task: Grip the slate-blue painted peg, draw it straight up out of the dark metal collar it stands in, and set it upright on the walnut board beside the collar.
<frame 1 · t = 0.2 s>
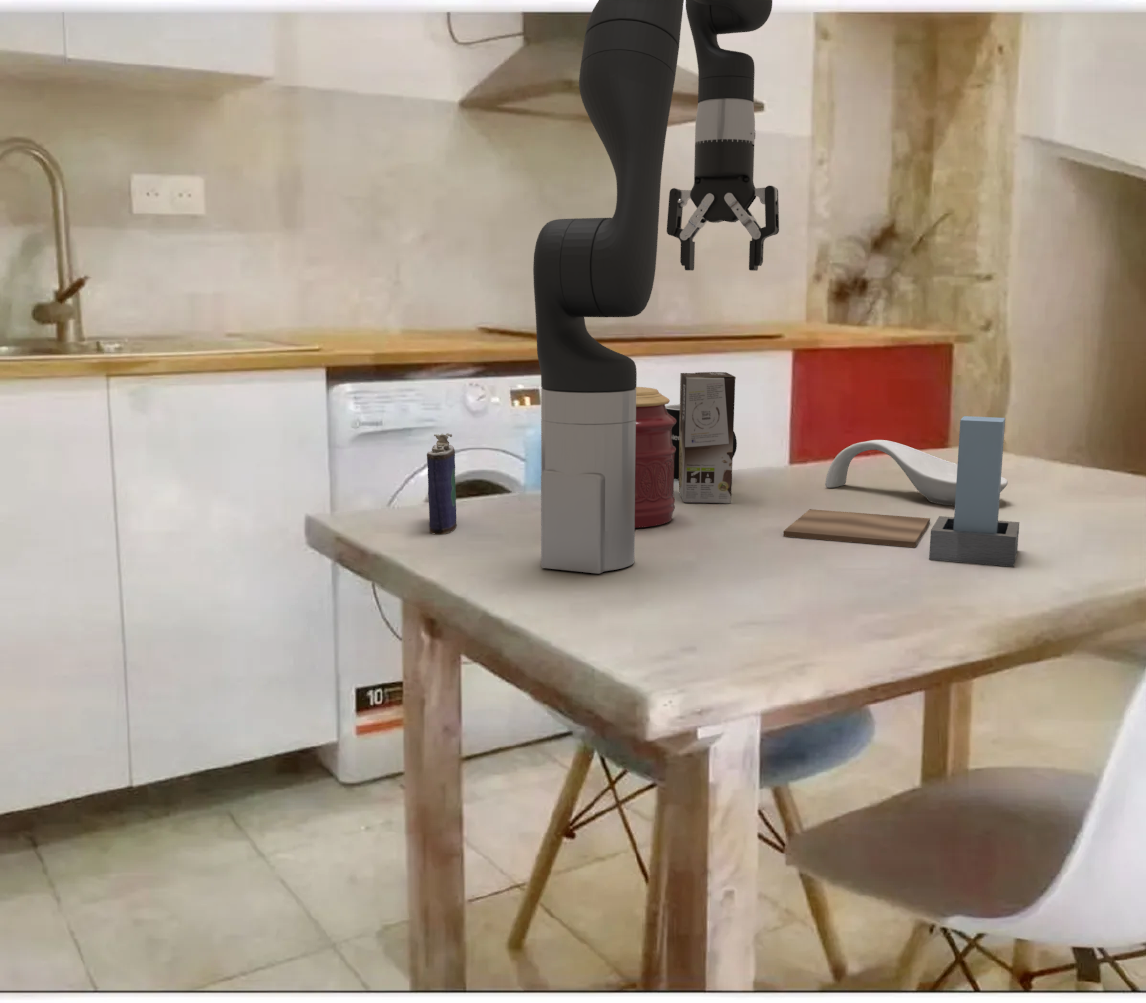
hand: (721, 270, 150), 29 cm above the table, tool pointing down, fingers open, 8 cm apart
canister: (619, 520, 137), on the table
flask: (443, 527, 133), on the table
spoon rest: (912, 499, 153), on the table
peg: (973, 555, 119), resting in collar
board: (858, 529, 131), on the table
collar: (973, 554, 119), on the table
mug: (701, 479, 167), on the table
coffee box: (704, 498, 151), on the table
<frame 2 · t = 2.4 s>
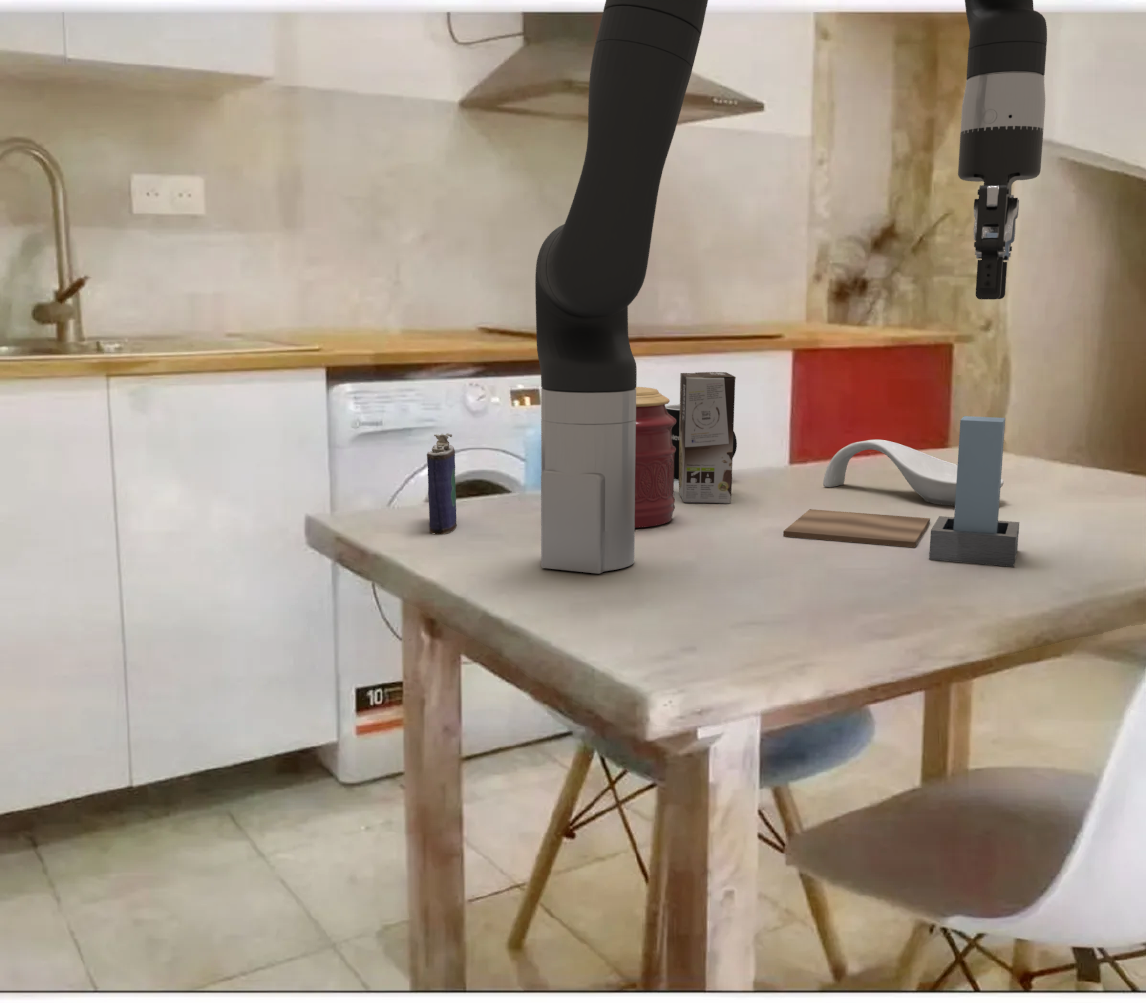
hand: (990, 299, 114), 26 cm above the table, tool pointing down, fingers open, 8 cm apart
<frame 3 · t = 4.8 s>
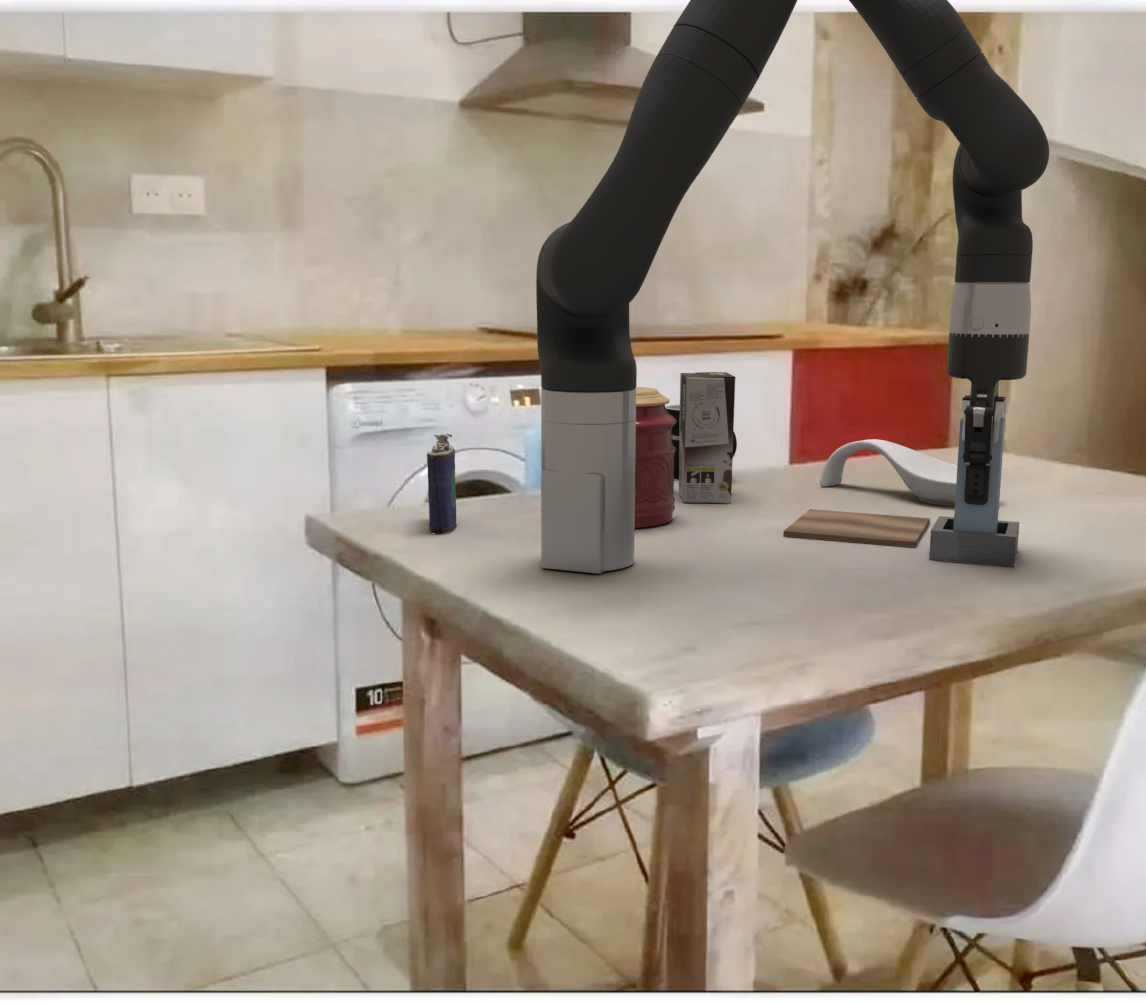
hand: (977, 499, 118), 6 cm above the table, tool pointing down, fingers closed on peg, 4 cm apart
peg: (973, 554, 119), resting in collar, touching gripper
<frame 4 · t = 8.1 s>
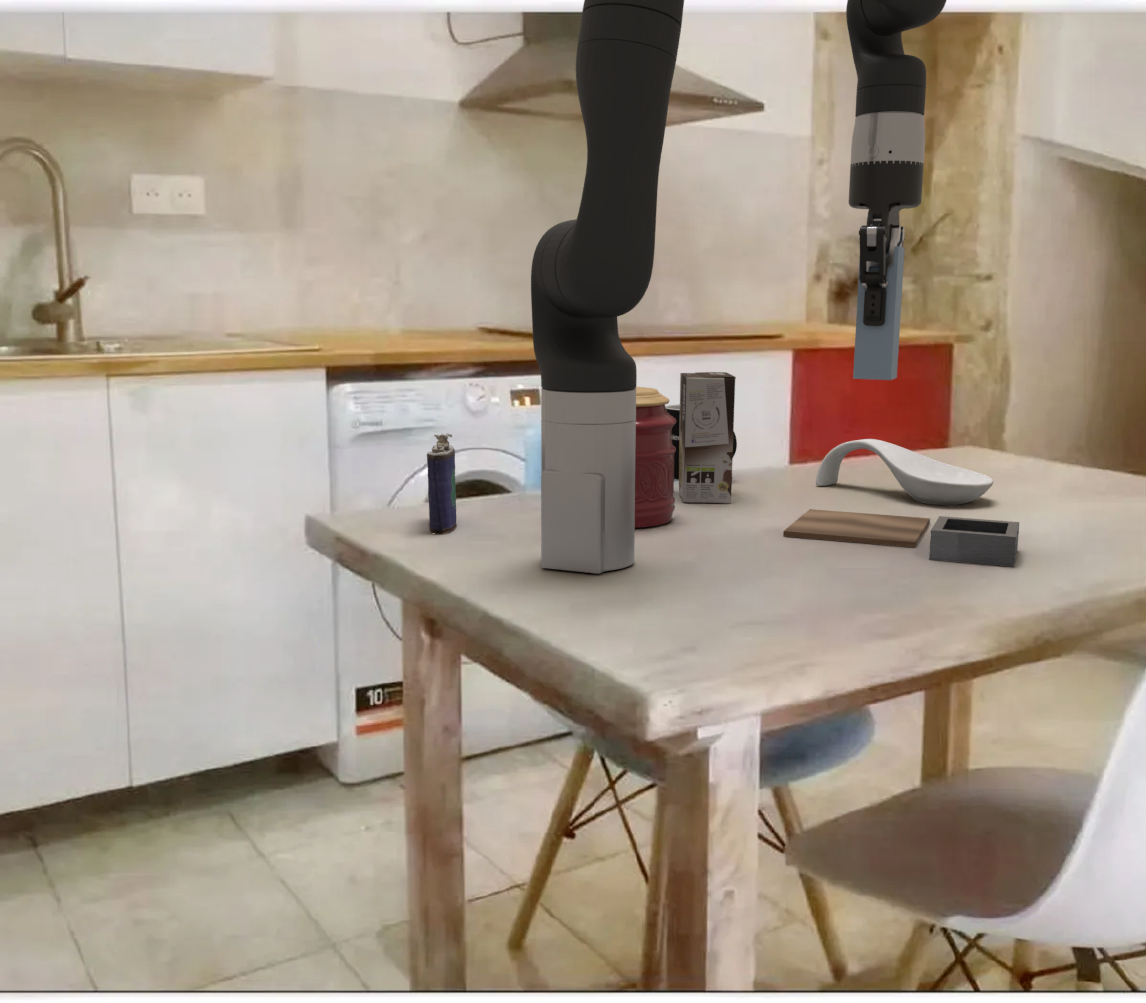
hand: (877, 324, 126), 23 cm above the table, tool pointing down, fingers closed on peg, 4 cm apart
peg: (875, 378, 127), point 17 cm above the table, touching gripper
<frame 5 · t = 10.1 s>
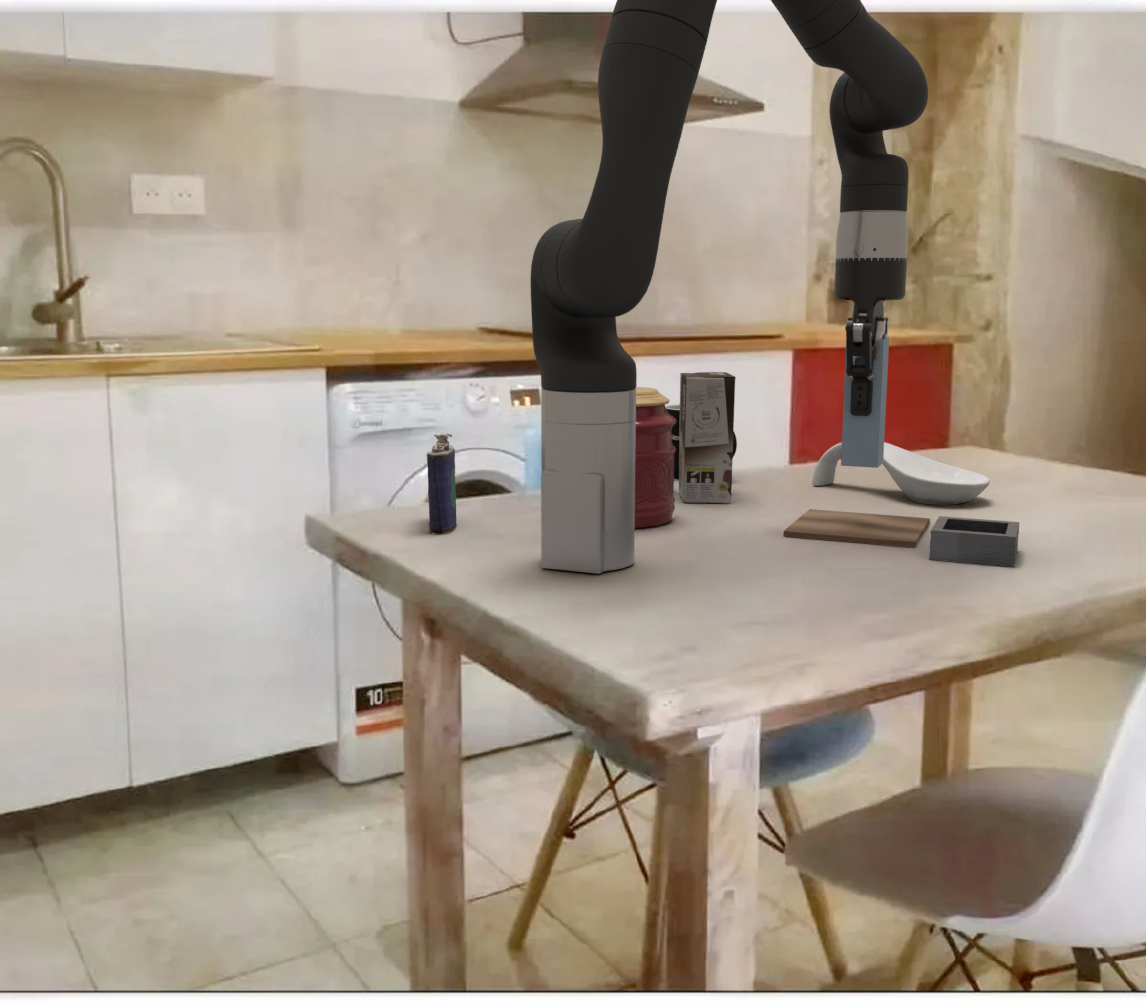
hand: (864, 412, 129), 13 cm above the table, tool pointing down, fingers closed on peg, 4 cm apart
peg: (862, 464, 130), point 7 cm above the table, touching gripper
when the fingers open (7 cm above the table, at t = 11.6 s): peg drops 1 cm, resting on board.
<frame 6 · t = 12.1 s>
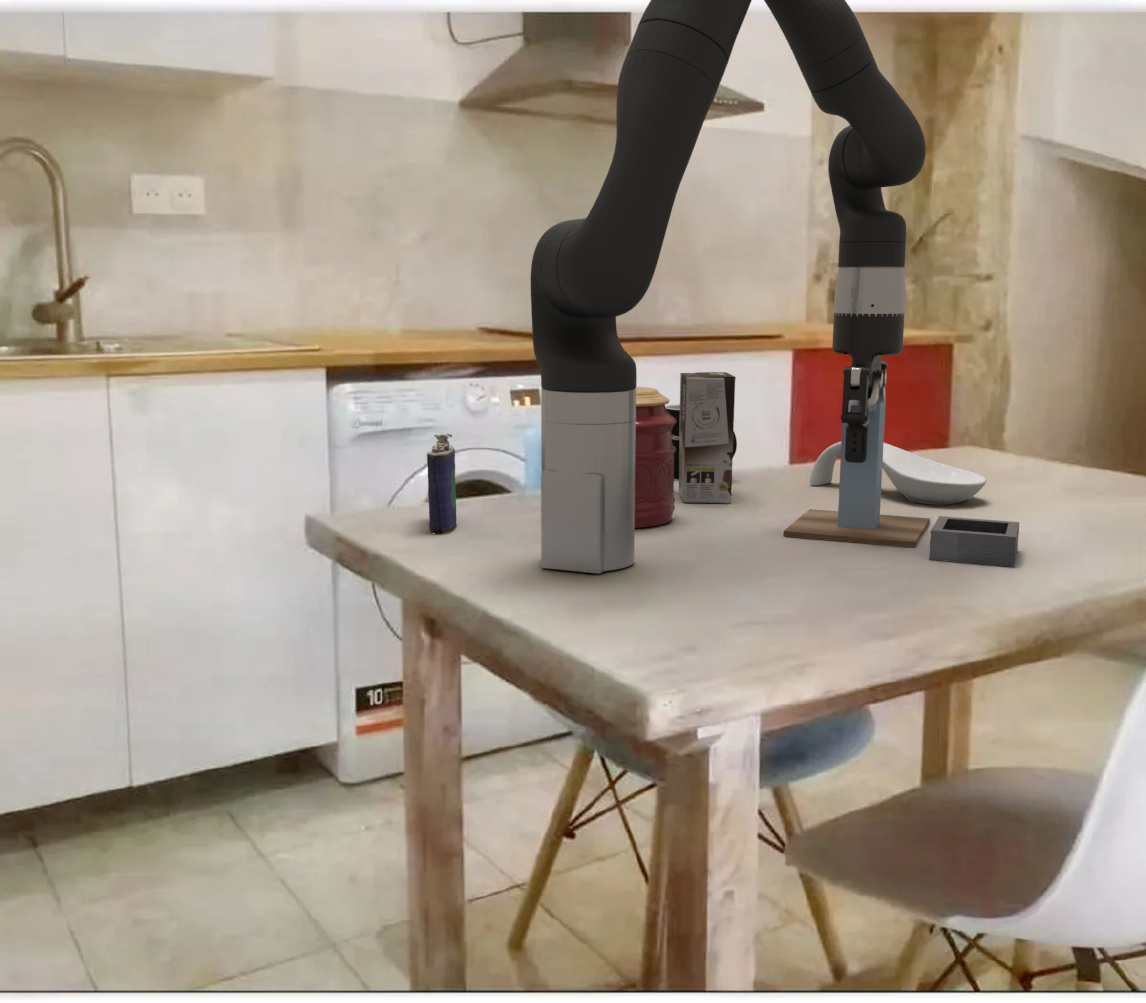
hand: (862, 457, 130), 8 cm above the table, tool pointing down, fingers open, 8 cm apart
peg: (858, 524, 131), point 1 cm above the table, touching board
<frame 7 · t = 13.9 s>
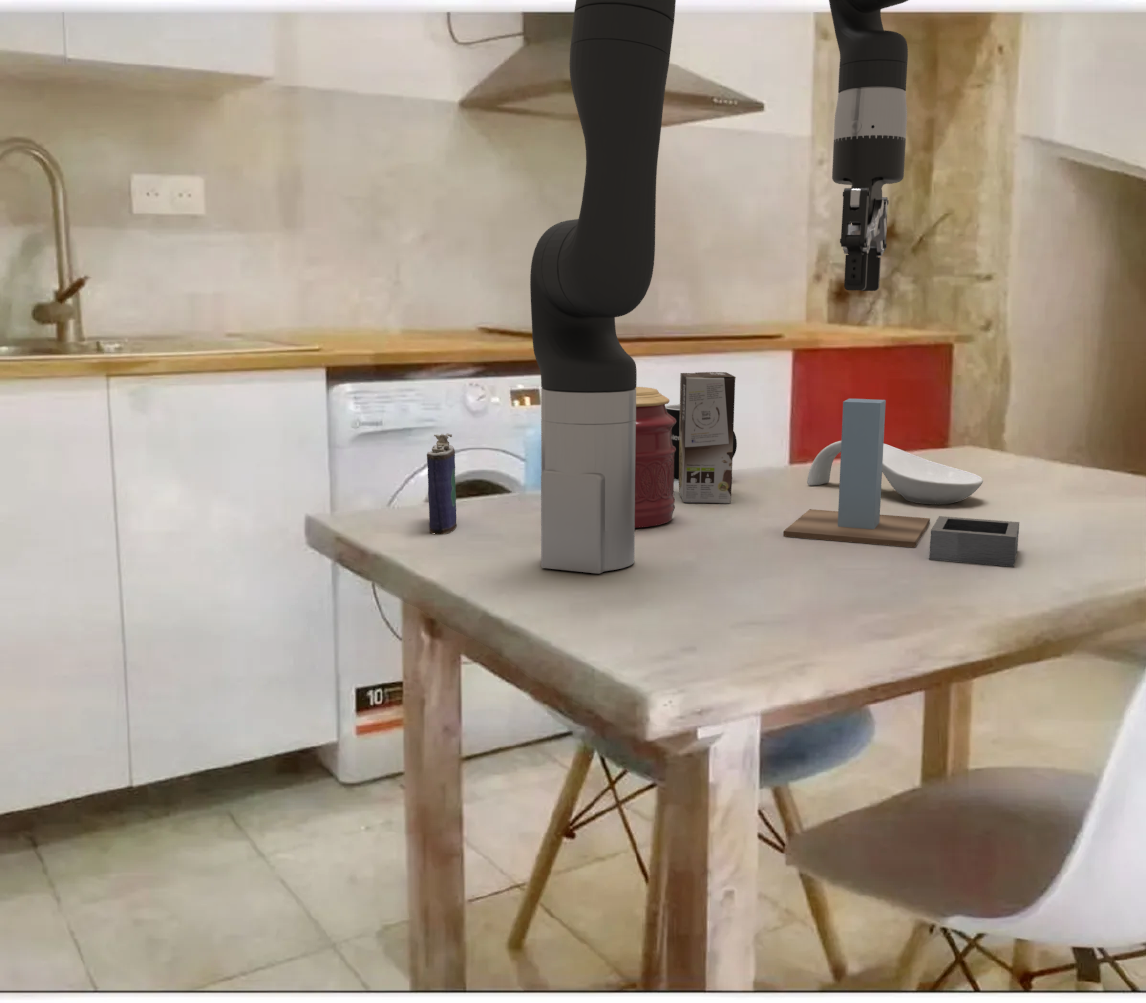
hand: (862, 290, 127), 27 cm above the table, tool pointing down, fingers open, 8 cm apart
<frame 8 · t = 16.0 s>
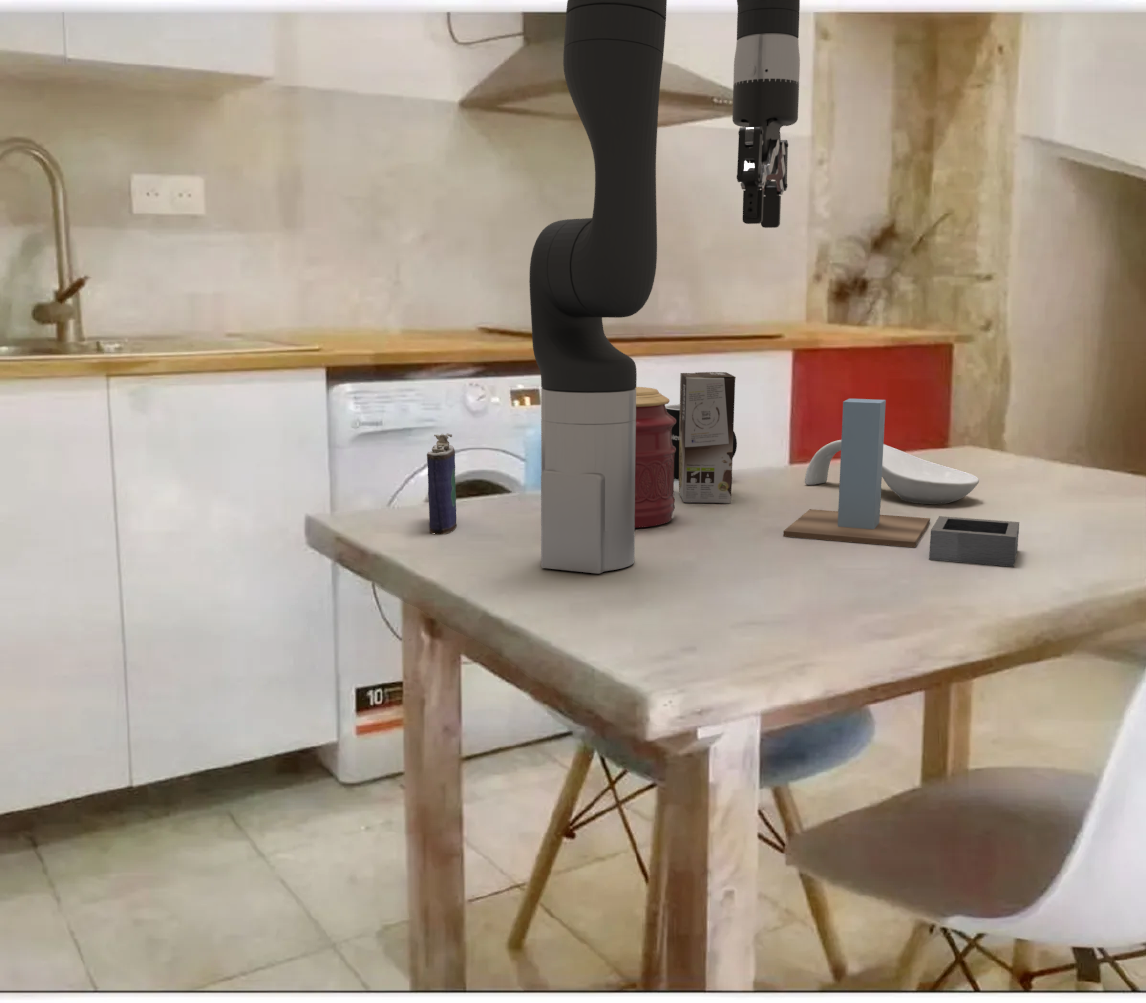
hand: (761, 225, 137), 34 cm above the table, tool pointing down, fingers open, 8 cm apart
at the end: peg inside the target area on the board (0.1 cm from its centre), point 0.6 cm above the board's base; peg tilted 0°; the gripper is holding nothing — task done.
